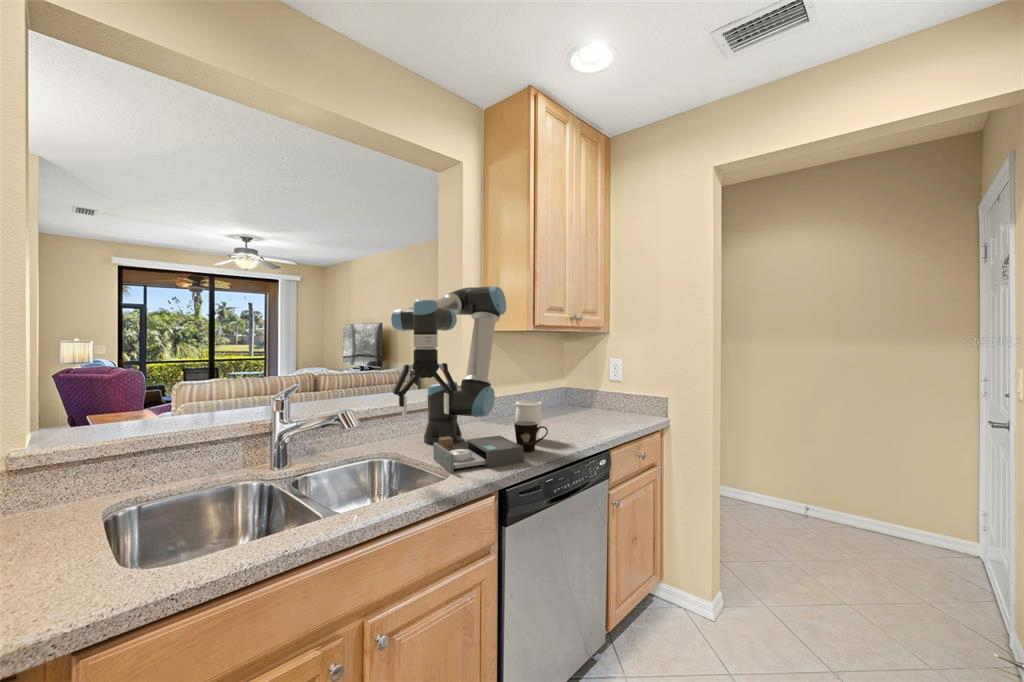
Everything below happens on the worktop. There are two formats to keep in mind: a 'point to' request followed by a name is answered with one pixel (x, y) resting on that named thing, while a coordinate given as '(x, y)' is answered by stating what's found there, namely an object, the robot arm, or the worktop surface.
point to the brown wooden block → (446, 443)
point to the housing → (496, 450)
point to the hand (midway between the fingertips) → (425, 415)
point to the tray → (448, 462)
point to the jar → (529, 412)
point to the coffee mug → (527, 434)
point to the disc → (461, 455)
